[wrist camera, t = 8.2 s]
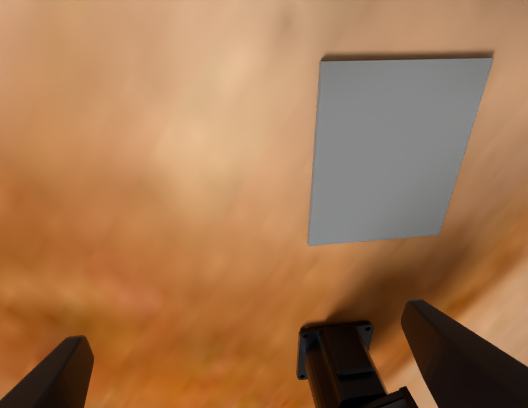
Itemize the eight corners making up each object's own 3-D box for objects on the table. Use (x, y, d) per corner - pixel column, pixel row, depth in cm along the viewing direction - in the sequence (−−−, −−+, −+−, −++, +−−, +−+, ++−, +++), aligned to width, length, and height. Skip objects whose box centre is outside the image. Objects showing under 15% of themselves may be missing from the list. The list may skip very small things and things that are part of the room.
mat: (436, 231, 24) (439, 234, 24) (307, 242, 23) (308, 246, 22) (488, 57, 18) (493, 58, 18) (320, 61, 17) (322, 61, 17)
